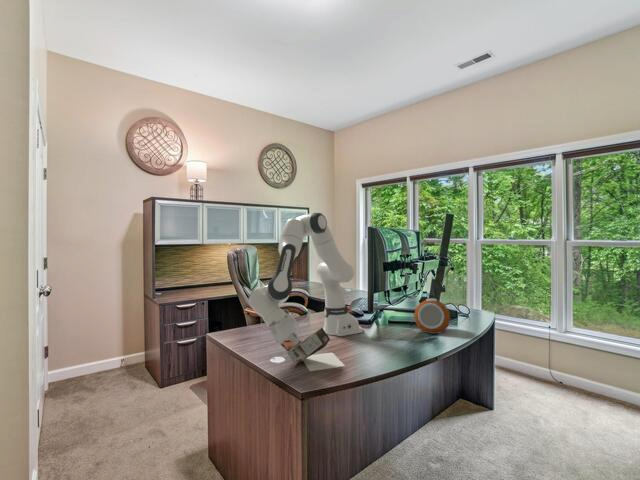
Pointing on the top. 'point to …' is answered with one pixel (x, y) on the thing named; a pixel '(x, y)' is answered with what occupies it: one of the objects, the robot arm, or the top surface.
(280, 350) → the top surface
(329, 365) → the felt pad
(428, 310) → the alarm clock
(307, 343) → the coffee box
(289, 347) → the sunglasses case
